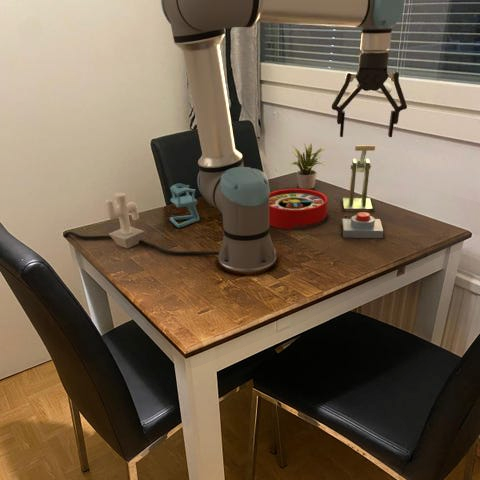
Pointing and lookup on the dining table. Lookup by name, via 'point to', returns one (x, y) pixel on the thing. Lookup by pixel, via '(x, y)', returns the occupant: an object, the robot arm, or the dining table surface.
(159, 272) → the dining table surface
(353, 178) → the frame stand
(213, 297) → the dining table surface
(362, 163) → the lever
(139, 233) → the figurine
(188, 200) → the chair
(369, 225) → the button box
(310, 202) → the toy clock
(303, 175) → the house plant
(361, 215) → the button
